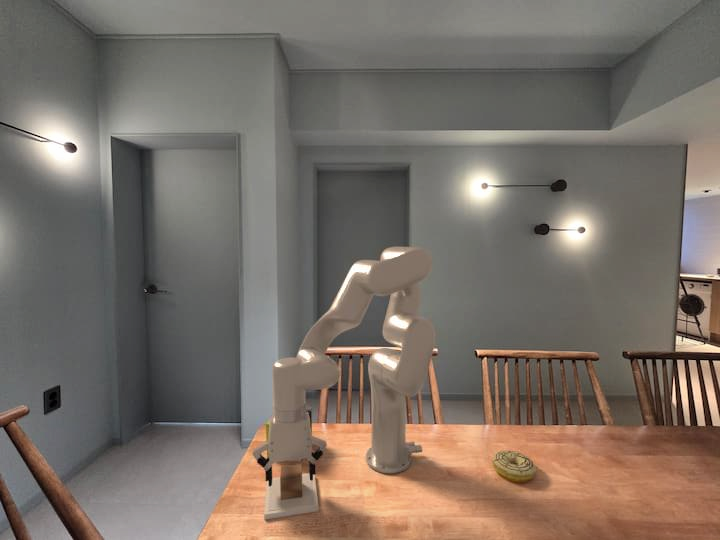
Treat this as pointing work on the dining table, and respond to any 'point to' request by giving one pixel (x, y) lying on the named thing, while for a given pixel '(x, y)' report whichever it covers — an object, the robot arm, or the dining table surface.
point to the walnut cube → (291, 482)
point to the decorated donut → (514, 466)
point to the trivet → (290, 506)
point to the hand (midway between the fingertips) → (291, 479)
